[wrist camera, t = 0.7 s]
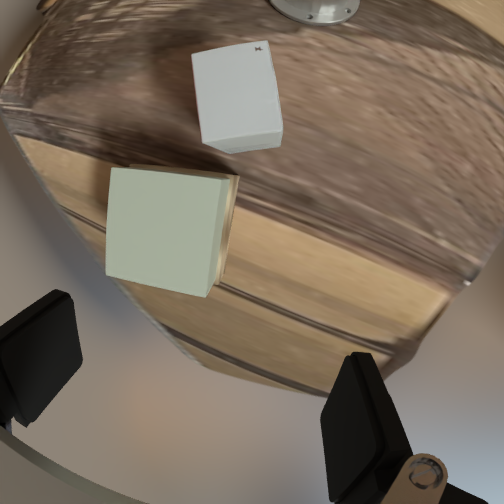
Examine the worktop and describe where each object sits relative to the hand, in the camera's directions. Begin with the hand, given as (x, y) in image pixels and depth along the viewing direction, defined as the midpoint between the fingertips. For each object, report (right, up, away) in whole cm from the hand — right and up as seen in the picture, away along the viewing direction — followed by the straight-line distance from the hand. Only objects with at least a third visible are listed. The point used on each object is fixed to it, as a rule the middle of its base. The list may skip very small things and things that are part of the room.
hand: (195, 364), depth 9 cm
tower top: (-7, +7, +22) cm, 24 cm away
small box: (+1, +19, +23) cm, 30 cm away
